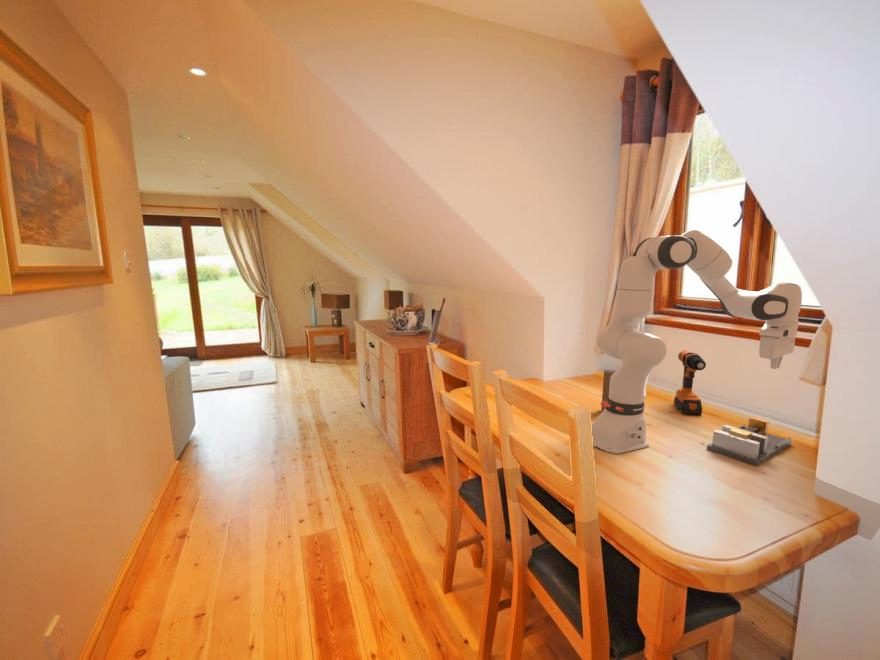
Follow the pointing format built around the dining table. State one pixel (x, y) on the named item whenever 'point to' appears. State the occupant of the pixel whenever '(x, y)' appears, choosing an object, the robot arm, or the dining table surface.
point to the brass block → (741, 433)
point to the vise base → (761, 456)
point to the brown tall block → (606, 385)
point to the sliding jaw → (755, 432)
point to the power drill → (689, 383)
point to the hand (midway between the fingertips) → (774, 368)
